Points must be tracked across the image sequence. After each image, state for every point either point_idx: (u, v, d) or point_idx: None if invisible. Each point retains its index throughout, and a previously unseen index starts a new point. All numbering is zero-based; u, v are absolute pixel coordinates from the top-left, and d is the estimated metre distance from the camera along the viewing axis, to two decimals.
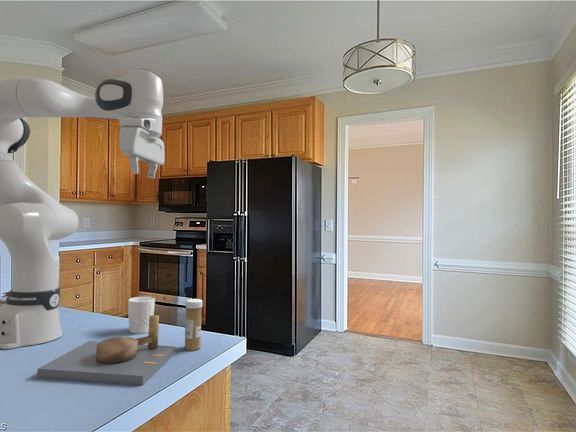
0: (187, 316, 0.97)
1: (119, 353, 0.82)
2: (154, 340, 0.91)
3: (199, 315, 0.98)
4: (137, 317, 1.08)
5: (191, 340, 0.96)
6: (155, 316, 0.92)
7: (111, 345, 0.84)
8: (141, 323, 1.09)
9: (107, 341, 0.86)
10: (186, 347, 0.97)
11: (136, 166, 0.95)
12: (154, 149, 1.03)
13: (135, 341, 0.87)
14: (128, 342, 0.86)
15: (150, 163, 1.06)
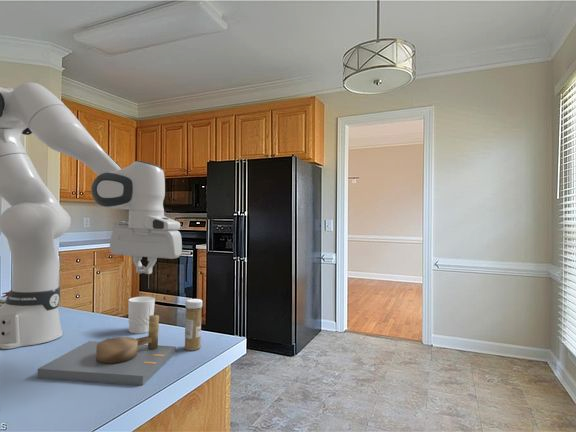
0: (187, 316, 0.97)
1: (119, 353, 0.82)
2: (154, 340, 0.91)
3: (199, 315, 0.98)
4: (137, 317, 1.08)
5: (191, 340, 0.96)
6: (155, 316, 0.92)
7: (111, 345, 0.84)
8: (141, 323, 1.09)
9: (107, 341, 0.86)
10: (186, 347, 0.97)
11: (152, 266, 0.95)
12: None
13: (135, 341, 0.87)
14: (128, 342, 0.86)
15: (138, 256, 0.94)
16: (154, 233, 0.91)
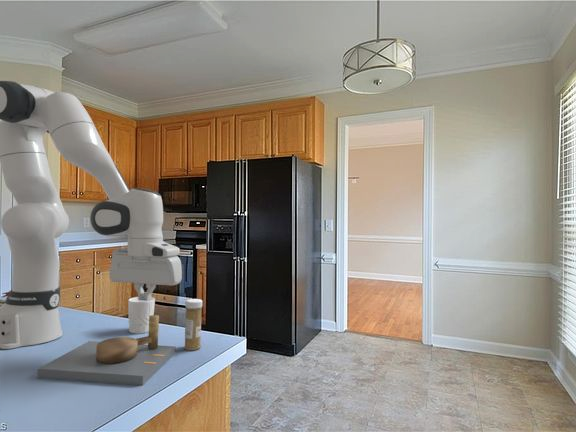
0: (187, 316, 0.97)
1: (119, 353, 0.82)
2: (154, 340, 0.91)
3: (199, 315, 0.98)
4: (137, 317, 1.08)
5: (191, 340, 0.96)
6: (155, 316, 0.92)
7: (111, 345, 0.84)
8: (141, 323, 1.09)
9: (107, 341, 0.86)
10: (186, 347, 0.97)
11: (151, 292, 0.95)
12: None
13: (135, 341, 0.87)
14: (128, 342, 0.86)
15: (139, 283, 0.94)
16: (154, 261, 0.91)
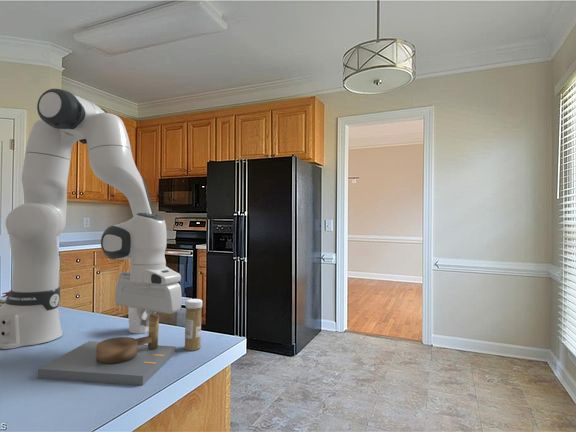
0: (187, 316, 0.97)
1: (119, 353, 0.82)
2: (154, 340, 0.91)
3: (199, 315, 0.98)
4: (137, 317, 1.08)
5: (191, 340, 0.96)
6: (155, 316, 0.92)
7: (111, 345, 0.84)
8: None
9: (107, 341, 0.86)
10: (186, 347, 0.97)
11: None
12: None
13: (135, 341, 0.87)
14: (128, 342, 0.86)
15: (142, 308, 0.94)
16: (153, 288, 0.90)
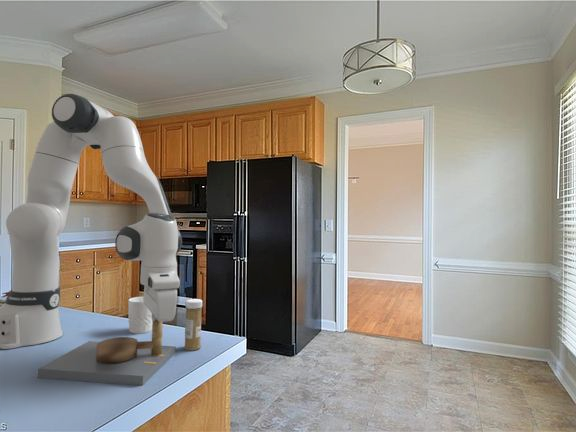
0: (187, 316, 0.97)
1: (108, 353, 0.81)
2: (155, 346, 0.87)
3: (199, 315, 0.98)
4: (137, 317, 1.08)
5: (191, 340, 0.96)
6: (158, 321, 0.88)
7: (109, 344, 0.84)
8: (141, 323, 1.09)
9: (113, 339, 0.88)
10: (186, 347, 0.97)
11: None
12: None
13: (133, 344, 0.85)
14: (126, 344, 0.85)
15: None
16: (151, 291, 0.86)
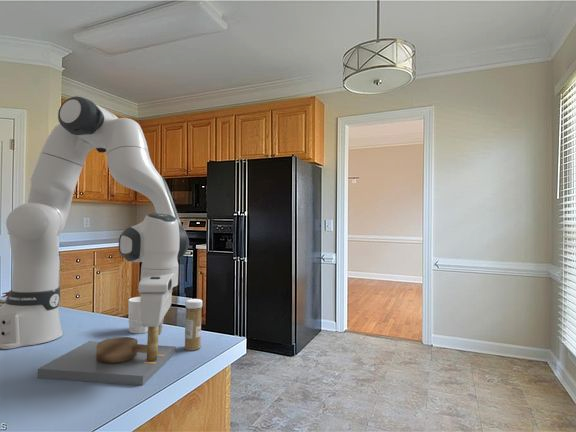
0: (187, 316, 0.97)
1: (101, 353, 0.81)
2: (149, 351, 0.83)
3: (199, 315, 0.98)
4: (137, 317, 1.08)
5: (191, 340, 0.96)
6: None
7: (109, 343, 0.85)
8: (141, 323, 1.09)
9: (118, 339, 0.88)
10: (186, 347, 0.97)
11: (159, 328, 0.87)
12: (167, 298, 0.91)
13: (128, 346, 0.84)
14: (122, 345, 0.84)
15: None
16: None
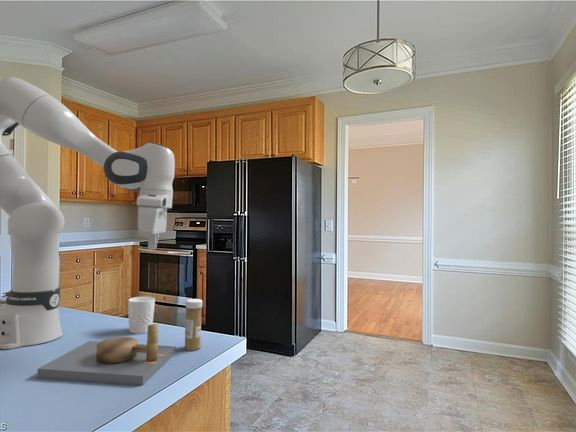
0: (187, 316, 0.97)
1: (101, 353, 0.81)
2: (149, 352, 0.83)
3: (199, 315, 0.98)
4: (137, 317, 1.08)
5: (191, 340, 0.96)
6: (153, 325, 0.84)
7: (109, 343, 0.85)
8: (141, 323, 1.09)
9: (118, 339, 0.88)
10: (186, 347, 0.97)
11: (154, 243, 0.98)
12: (162, 221, 1.03)
13: (128, 346, 0.84)
14: (122, 345, 0.84)
15: None
16: None
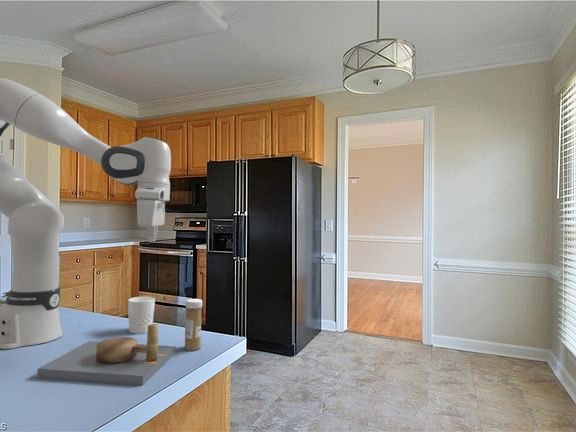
0: (187, 316, 0.97)
1: (101, 353, 0.81)
2: (149, 352, 0.83)
3: (199, 315, 0.98)
4: (137, 317, 1.08)
5: (191, 340, 0.96)
6: (153, 325, 0.84)
7: (109, 343, 0.85)
8: (141, 323, 1.09)
9: (118, 339, 0.88)
10: (186, 347, 0.97)
11: (153, 235, 1.00)
12: (160, 213, 1.05)
13: (128, 346, 0.84)
14: (122, 345, 0.84)
15: None
16: None
